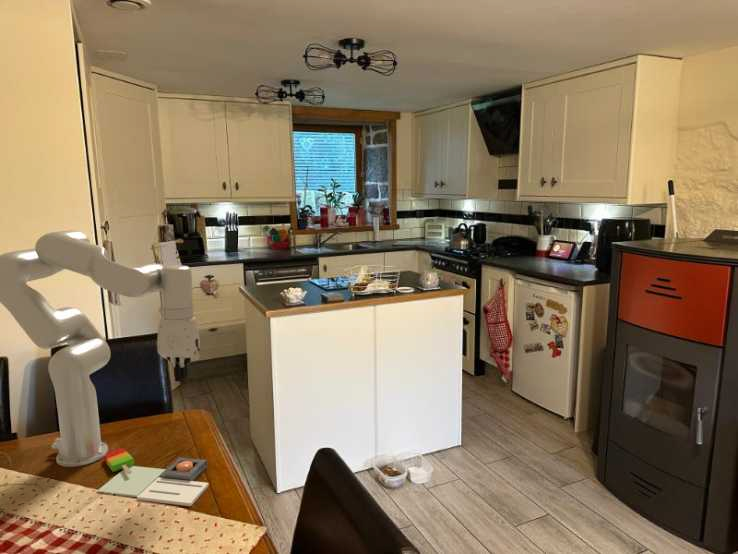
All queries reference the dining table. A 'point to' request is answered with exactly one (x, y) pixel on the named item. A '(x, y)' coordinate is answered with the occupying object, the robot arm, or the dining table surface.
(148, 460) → the dining table surface
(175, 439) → the dining table surface
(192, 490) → the paper board
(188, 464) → the button
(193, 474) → the button housing
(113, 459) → the popsicle
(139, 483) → the mat
